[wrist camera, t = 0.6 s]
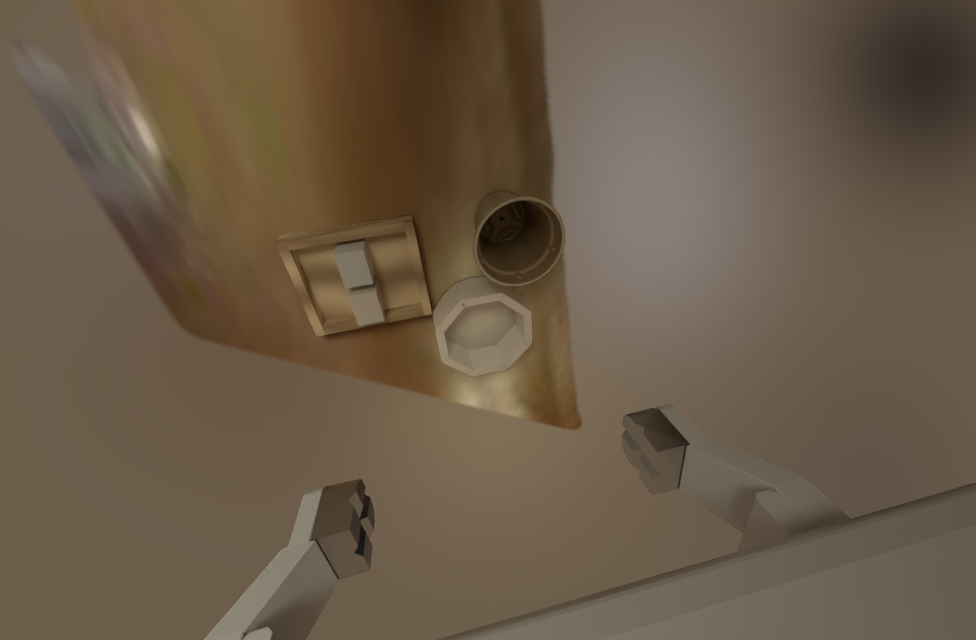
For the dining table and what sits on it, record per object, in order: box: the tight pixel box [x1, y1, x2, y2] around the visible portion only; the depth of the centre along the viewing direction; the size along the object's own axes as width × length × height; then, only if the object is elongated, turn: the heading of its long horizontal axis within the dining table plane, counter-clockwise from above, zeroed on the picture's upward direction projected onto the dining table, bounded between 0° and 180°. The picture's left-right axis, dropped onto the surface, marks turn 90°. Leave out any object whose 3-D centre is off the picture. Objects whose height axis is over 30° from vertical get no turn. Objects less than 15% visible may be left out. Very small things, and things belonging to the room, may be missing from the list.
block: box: [348, 278, 385, 326], centre depth 43 cm, size 4×3×4 cm
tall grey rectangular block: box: [333, 238, 374, 289], centre depth 40 cm, size 4×3×4 cm
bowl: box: [432, 276, 532, 377], centre depth 48 cm, size 12×12×5 cm
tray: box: [276, 215, 432, 336], centre depth 43 cm, size 12×14×2 cm
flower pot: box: [473, 191, 565, 287], centre depth 40 cm, size 9×9×9 cm
